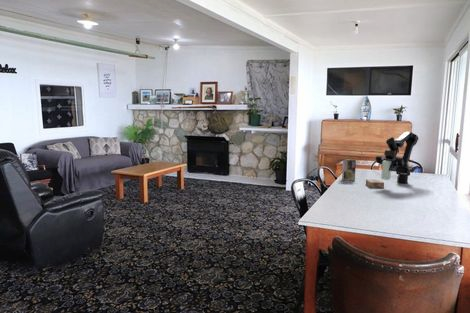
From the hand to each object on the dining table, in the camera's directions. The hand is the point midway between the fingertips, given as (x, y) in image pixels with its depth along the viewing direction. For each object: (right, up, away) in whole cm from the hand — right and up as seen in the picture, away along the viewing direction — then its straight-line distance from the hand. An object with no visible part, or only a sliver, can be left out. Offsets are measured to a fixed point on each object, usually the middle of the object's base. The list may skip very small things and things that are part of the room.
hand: (385, 170), depth 261 cm
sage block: (+1, -6, +2) cm, 7 cm away
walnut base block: (-4, -12, +9) cm, 16 cm away
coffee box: (-17, -9, +32) cm, 37 cm away
